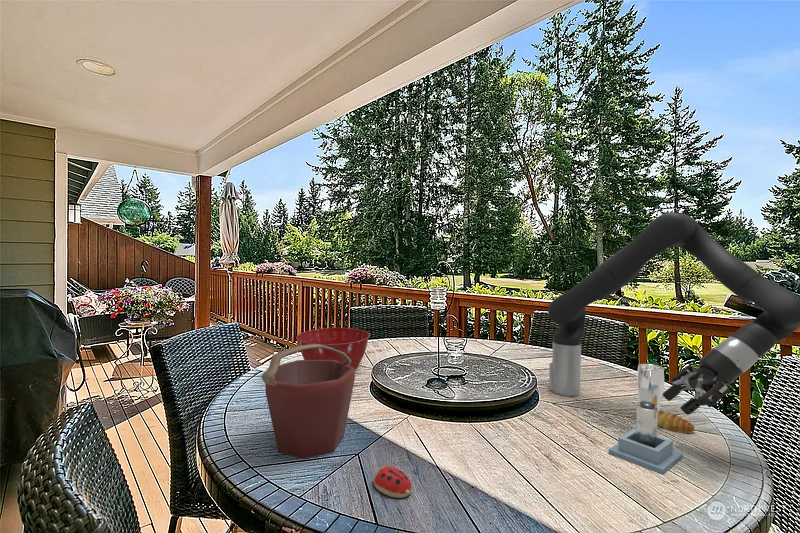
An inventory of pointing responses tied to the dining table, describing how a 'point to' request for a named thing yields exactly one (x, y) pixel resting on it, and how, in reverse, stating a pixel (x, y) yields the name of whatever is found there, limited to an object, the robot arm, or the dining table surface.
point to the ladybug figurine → (392, 482)
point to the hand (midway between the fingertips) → (674, 404)
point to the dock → (646, 452)
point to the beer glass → (650, 383)
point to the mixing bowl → (335, 344)
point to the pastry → (674, 422)
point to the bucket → (308, 402)
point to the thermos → (646, 423)
